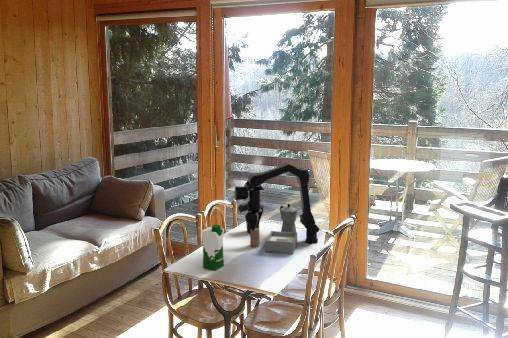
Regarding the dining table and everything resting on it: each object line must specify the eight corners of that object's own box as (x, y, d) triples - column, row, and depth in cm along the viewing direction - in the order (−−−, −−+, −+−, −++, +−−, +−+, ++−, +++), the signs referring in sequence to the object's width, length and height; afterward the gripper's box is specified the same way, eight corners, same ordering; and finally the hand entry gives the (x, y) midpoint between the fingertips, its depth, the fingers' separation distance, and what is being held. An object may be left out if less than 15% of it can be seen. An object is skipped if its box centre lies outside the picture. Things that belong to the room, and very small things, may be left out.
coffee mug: (246, 229, 275) (246, 212, 273) (261, 229, 274) (261, 213, 272) (243, 235, 264) (243, 218, 262) (258, 236, 263) (258, 218, 261)
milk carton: (215, 272, 214) (214, 229, 211) (199, 268, 219) (198, 226, 215) (226, 265, 222) (225, 224, 218) (211, 261, 226) (209, 221, 223)
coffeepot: (302, 237, 260) (302, 205, 257) (288, 240, 256) (288, 207, 252) (287, 229, 273) (287, 199, 270) (273, 232, 269) (273, 201, 266)
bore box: (271, 241, 254) (271, 231, 252) (297, 243, 251) (297, 232, 250) (265, 252, 238) (265, 240, 237) (293, 254, 235) (293, 242, 234)
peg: (252, 244, 250) (251, 228, 248) (259, 245, 249) (259, 228, 247) (250, 247, 246) (250, 230, 244) (258, 247, 245) (257, 230, 243)
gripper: (243, 193, 253) (244, 222, 256) (234, 202, 235) (235, 232, 238) (264, 194, 251) (264, 223, 254) (256, 203, 233) (257, 234, 236)
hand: (255, 228), depth 246 cm, fingers open, 9 cm apart
